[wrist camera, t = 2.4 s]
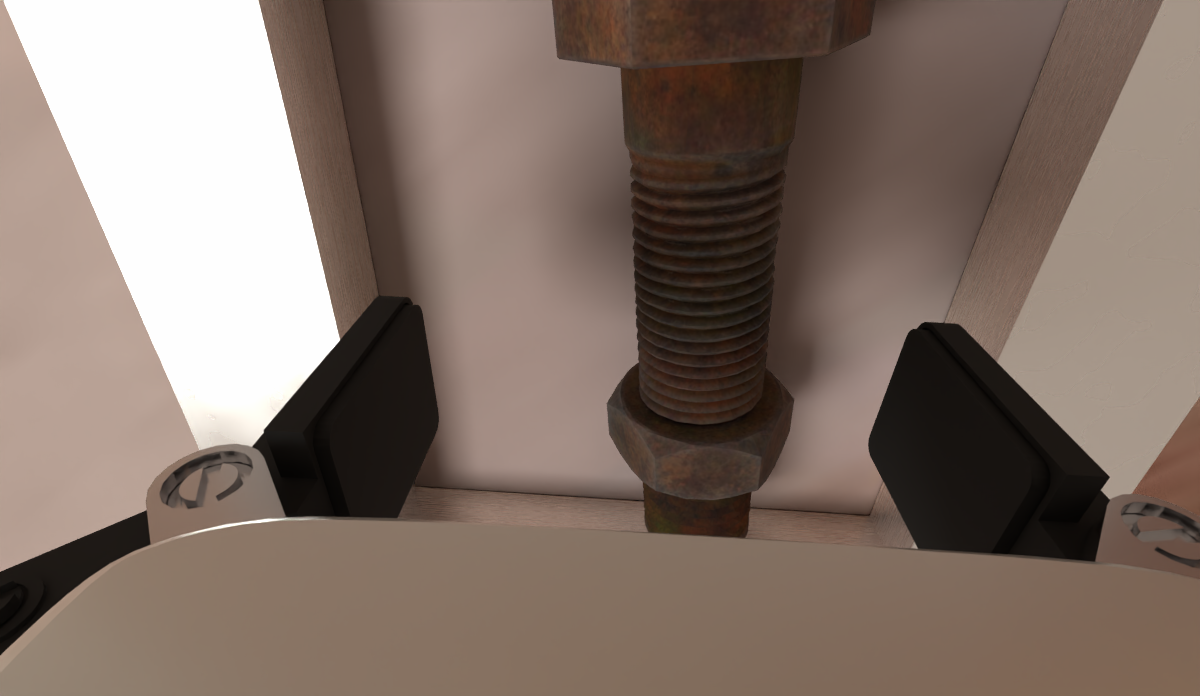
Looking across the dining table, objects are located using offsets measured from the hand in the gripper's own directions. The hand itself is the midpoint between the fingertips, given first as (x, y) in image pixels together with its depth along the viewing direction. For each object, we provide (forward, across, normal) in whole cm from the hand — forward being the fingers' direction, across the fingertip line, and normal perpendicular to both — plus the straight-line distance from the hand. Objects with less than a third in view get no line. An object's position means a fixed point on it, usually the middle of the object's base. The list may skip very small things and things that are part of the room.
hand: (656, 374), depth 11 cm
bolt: (+6, -1, 0) cm, 6 cm away
